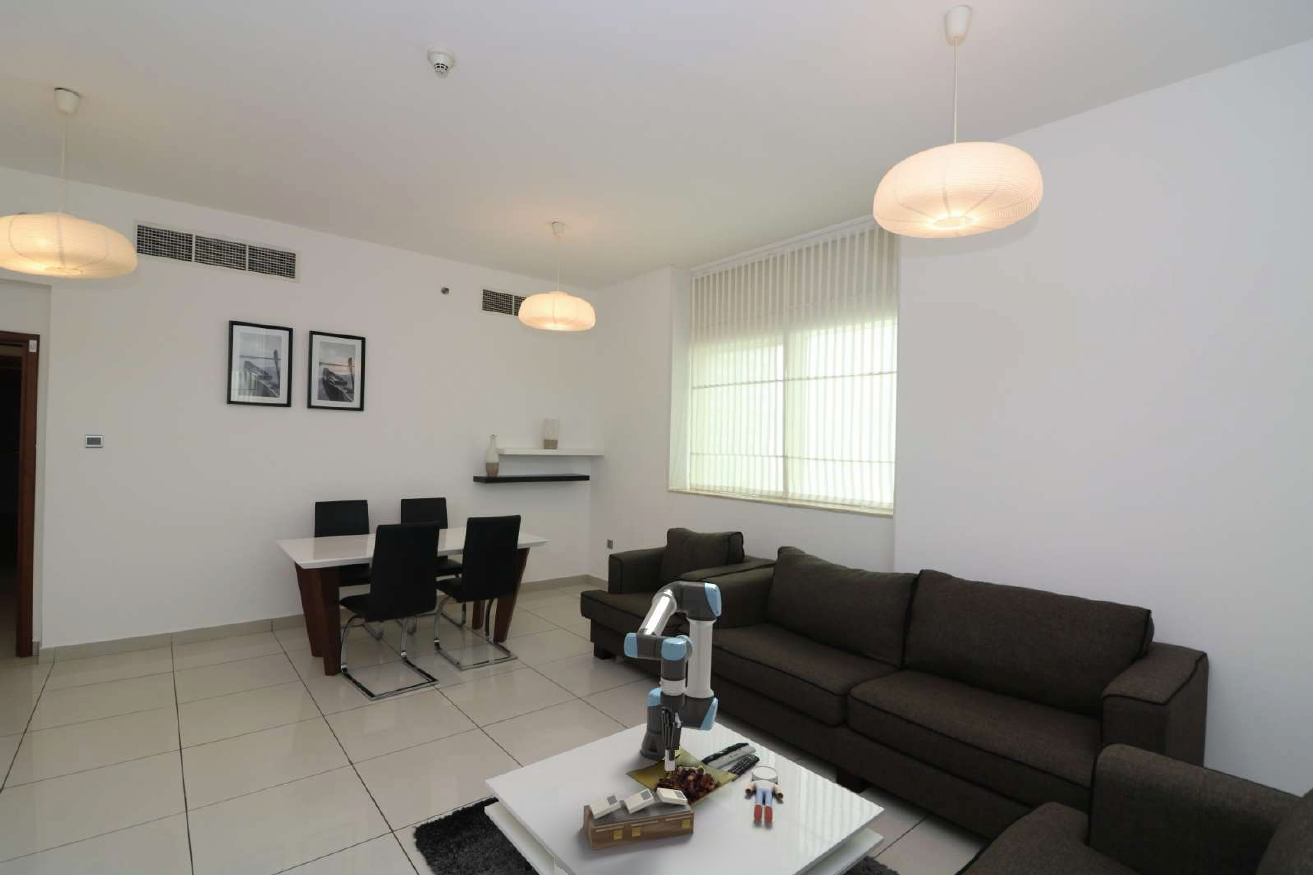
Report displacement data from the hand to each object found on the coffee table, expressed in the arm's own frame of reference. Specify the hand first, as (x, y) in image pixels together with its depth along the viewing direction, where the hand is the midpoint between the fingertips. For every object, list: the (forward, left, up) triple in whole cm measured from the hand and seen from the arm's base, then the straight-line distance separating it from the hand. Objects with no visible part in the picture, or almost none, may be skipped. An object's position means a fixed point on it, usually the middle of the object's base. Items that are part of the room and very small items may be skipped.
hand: (669, 769), depth 189 cm
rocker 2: (0, +1, -8) cm, 8 cm away
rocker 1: (0, -20, -8) cm, 22 cm away
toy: (-8, +37, -17) cm, 42 cm away
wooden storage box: (0, -9, -17) cm, 19 cm away
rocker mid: (0, -9, -8) cm, 13 cm away
